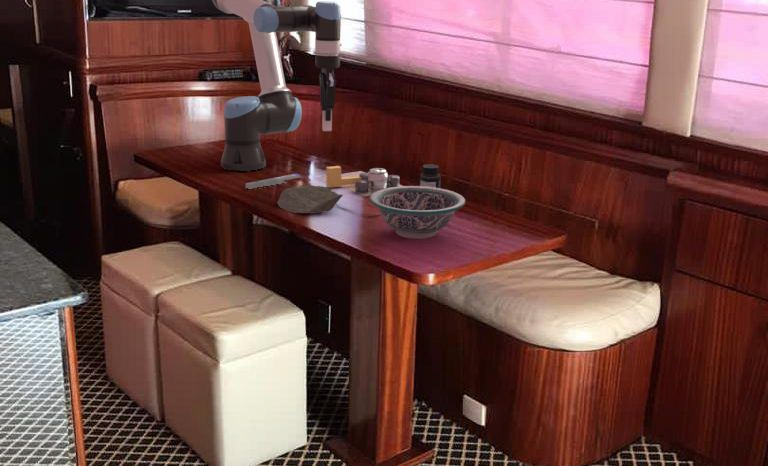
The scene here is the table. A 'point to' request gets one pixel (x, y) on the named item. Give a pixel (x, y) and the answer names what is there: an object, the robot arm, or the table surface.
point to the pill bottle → (430, 176)
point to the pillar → (271, 181)
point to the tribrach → (371, 181)
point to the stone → (308, 199)
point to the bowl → (417, 209)
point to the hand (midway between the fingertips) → (326, 130)
